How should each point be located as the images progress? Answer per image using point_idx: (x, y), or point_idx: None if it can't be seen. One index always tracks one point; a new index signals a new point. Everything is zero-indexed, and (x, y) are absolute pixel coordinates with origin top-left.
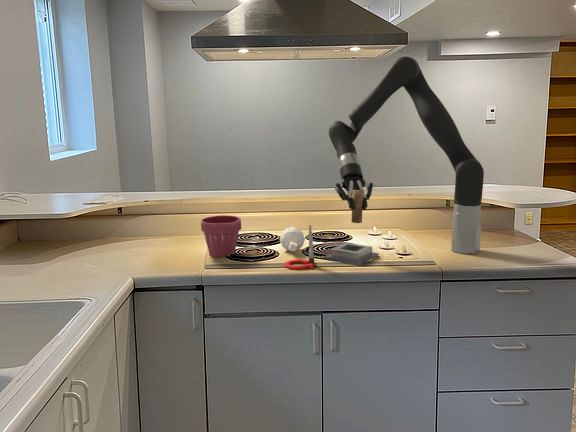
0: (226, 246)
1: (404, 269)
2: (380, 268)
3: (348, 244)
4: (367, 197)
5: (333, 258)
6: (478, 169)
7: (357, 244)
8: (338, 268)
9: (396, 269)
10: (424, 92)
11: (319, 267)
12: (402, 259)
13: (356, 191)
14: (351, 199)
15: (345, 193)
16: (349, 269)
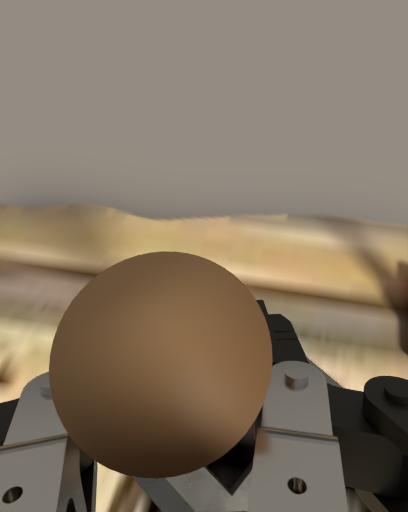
0: None
1: (75, 224)
2: (153, 246)
3: (228, 497)
4: (10, 402)
5: (322, 371)
6: None
7: (175, 488)
8: (309, 269)
9: (102, 228)
10: None
11: (384, 292)
12: (12, 346)
13: (216, 266)
14: (275, 352)
15: (397, 421)
16: (270, 252)
